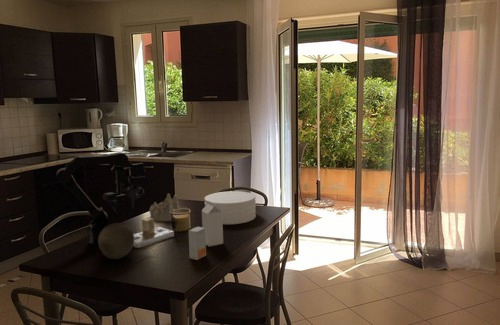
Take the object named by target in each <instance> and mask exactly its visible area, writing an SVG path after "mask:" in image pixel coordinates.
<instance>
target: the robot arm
mask: <svg viewBox="0 0 500 325" xmlns="http://www.w3.org/2000/svg"><path fill="white" fill-rule="evenodd" d="M88 165H89V166H90V165H91V166H92V165H111V166H113V167H112V168H110V170H111V171H112V172H114V171H115V181H114V183H115V185H116V189H115V192H112V191H110V192H106V193H103V195H102V200H103V201H106V202H108V204H109V205H110V206H111V208H112V210H113V211H114V212H113V213H115V214H118V204H117V202H118V199H117V198H119V197H124V196H125V197H127V198H130V201H131V202H130V203H131V207H132V210H135V209H136V206H137V202H138V199H139V198H140V197H141V196H142V195H143V194H145V191H144V188H143V187H140V184H134V185H132V182H131V180H130V177H132V179H137V178H145V177H146V169H145V166H144V163H143V162H139V163H132V162H131V161H129V157H128V155H127V154H126V153H124V152H121V151H119V152H115V153H110V154H106V155H86V156H85V155H84V156H83V155H81V156H80V155H78V156H77V155H76V156H74V157H73V158H72V159H71V160H70V162H68V163H67V164H66V165H65V167H62V168H59V169H58V170H57V172H56V180H57V181H58V182H59V183H61V184H62V185H64V187H66V188H68V190H70V192H71V193H72V194H73V195H74V196H75V197H76V199H77V200H78V201H79V202H80V203H81V205H83V207H84V208H85V210H87V212H88V213H89V214H90V217H91V219H92V220H91V221H90V223H89V226H90V230H89V240H88V243H89V244H91V245H93V246H99V244H98V238H99V235H100V233H101V231H102V230H103V229H104V228H105V227H106V226H108V225H109V219H108V217H109V215H108V213H107V212H106V211H105V210H103V207H102V206H100V207H97V206H96V205H95V203H93V201H92V200H91V199H90V197H89V196H88V195H87V194H86V193H85V191H84V190H83V189H82V188H81V187H80V186H79V184H78V183H77V180H75V178H74V176H73V174H75V172H77V170H78V168H80V166H88ZM124 166H125V167H124Z"/></svg>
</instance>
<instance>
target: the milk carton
mask: <svg viewBox="0 0 500 325" xmlns="http://www.w3.org/2000/svg"><path fill="white" fill-rule="evenodd" d="M218 207H219V206H217V205H216V204H214V203H212V202H210V201H208V204H207V205H206V206H205V205H204V207H203V208H202V210H201V227H202V228H205V238H206V247H207V246H208V247H214V246H218V245H223V244H224V229H223V227H224V226H223V225H224V224H223V223H222V211H220V210H219V209H218Z"/></svg>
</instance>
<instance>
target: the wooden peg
mask: <svg viewBox="0 0 500 325" xmlns="http://www.w3.org/2000/svg"><path fill="white" fill-rule="evenodd" d="M141 227H142V231H141V232H143V236H145V237H150V236H153V235H155V228H156V227H155V220H154V219H153V218H150V217H149V216H148V217H146V218H142V219H141Z"/></svg>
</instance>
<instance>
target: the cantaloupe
mask: <svg viewBox="0 0 500 325" xmlns="http://www.w3.org/2000/svg"><path fill="white" fill-rule="evenodd" d="M133 234H134V233H133V230H132V229H131V228H130V227H129V226H128V224H127V225H126V224H124V223H120V222H115V223H114V222H113V223H111V224H107V225H106V226H105V227H104V229H103V230H102V231H101V233H100V235H99V238H98V248H99V250H100V251H101V252H102V254H103V255H104V256H105V257H106V258H108V259H111V260H119V259H123V258H124V257H126V256H127V255H128V254H129V253H130V252H132V250H133V244H134V235H133Z"/></svg>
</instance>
